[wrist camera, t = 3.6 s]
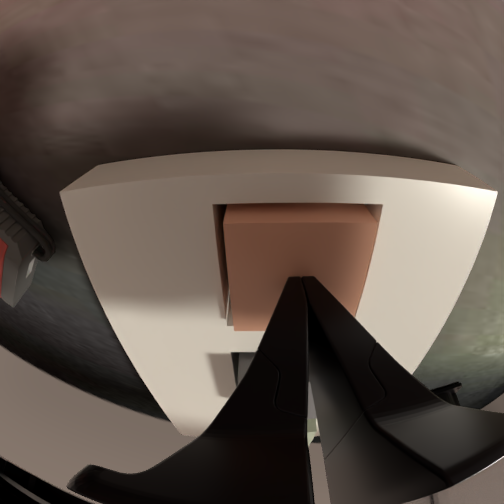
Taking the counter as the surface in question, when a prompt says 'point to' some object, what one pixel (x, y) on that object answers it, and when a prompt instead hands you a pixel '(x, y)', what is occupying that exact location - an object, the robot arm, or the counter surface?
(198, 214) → the three-button panel
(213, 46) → the counter surface
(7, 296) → the walkie-talkie
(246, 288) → the terracotta key
